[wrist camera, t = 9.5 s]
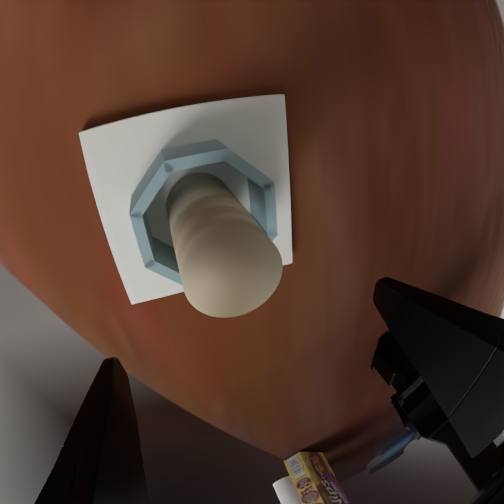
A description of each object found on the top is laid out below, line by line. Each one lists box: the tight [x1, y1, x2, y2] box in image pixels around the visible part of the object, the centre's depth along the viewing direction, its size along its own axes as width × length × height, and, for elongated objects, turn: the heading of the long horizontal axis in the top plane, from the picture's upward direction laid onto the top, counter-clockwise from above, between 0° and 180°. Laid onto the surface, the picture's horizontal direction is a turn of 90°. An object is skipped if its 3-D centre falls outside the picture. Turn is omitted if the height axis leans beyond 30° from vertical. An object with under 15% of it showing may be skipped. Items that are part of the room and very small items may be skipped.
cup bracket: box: [79, 94, 292, 304], centre depth 18 cm, size 12×12×4 cm
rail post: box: [166, 173, 282, 318], centre depth 15 cm, size 4×4×8 cm
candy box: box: [284, 452, 350, 504], centre depth 42 cm, size 9×4×15 cm, turn 42°
